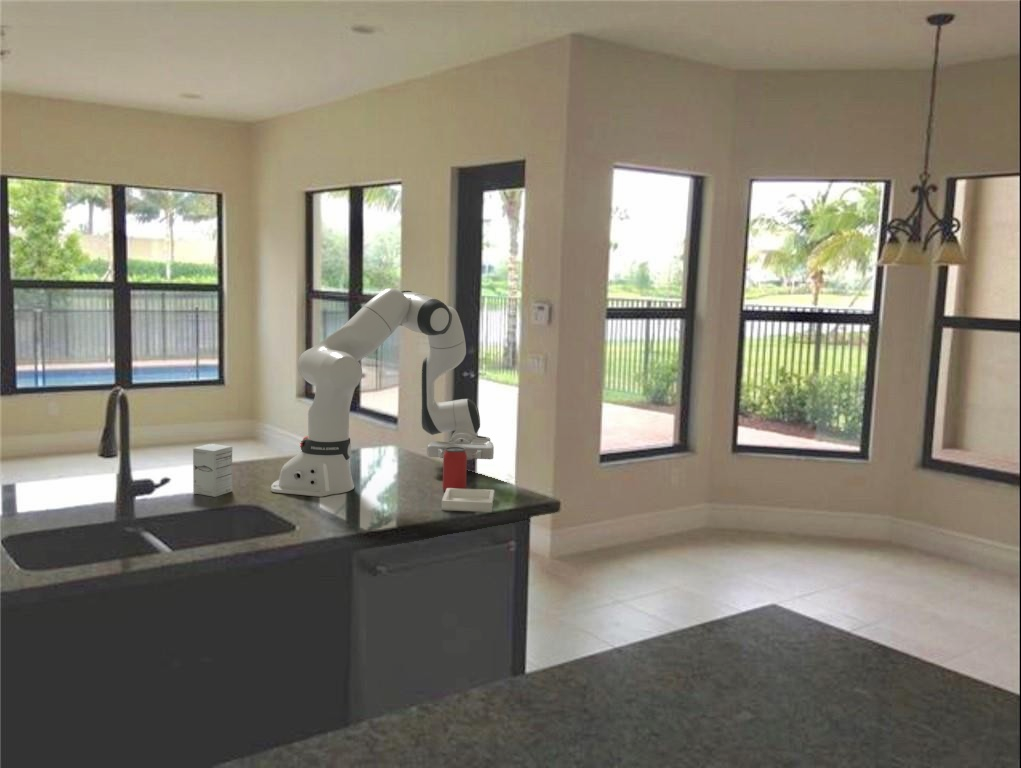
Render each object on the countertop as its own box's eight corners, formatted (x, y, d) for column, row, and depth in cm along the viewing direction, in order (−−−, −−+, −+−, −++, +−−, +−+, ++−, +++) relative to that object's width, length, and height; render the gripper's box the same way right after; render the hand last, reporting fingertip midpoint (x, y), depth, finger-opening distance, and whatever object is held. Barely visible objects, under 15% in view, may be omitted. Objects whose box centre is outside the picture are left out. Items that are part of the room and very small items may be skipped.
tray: (441, 510, 217) (441, 500, 217) (446, 496, 230) (446, 487, 230) (491, 512, 217) (492, 502, 216) (493, 498, 230) (494, 489, 229)
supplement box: (192, 494, 224) (191, 447, 223) (211, 487, 231) (211, 442, 229) (214, 497, 221) (213, 450, 220) (233, 491, 228) (233, 445, 227)
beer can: (455, 495, 232) (456, 452, 231) (437, 490, 236) (438, 448, 235) (470, 490, 238) (471, 449, 236) (453, 486, 241) (454, 445, 240)
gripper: (429, 435, 261) (423, 444, 248) (495, 437, 261) (493, 446, 247) (428, 455, 262) (423, 465, 248) (494, 457, 262) (492, 467, 248)
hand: (458, 456), depth 248 cm, fingers open, 8 cm apart
